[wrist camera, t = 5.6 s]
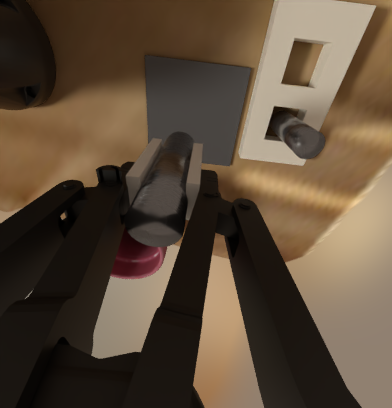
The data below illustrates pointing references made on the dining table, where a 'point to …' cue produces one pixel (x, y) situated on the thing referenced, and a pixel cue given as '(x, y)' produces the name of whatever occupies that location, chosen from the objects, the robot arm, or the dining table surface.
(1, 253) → the robot arm
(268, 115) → the hole board
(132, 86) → the dining table surface
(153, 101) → the mat
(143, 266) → the plant pot
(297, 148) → the seated peg
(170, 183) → the peg
